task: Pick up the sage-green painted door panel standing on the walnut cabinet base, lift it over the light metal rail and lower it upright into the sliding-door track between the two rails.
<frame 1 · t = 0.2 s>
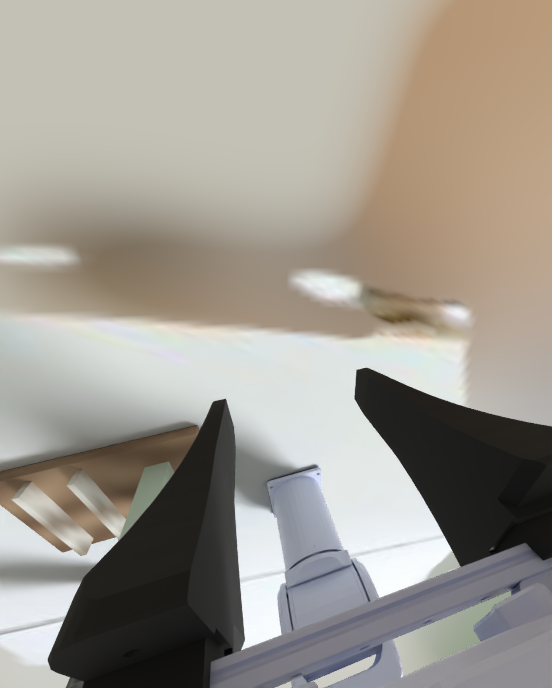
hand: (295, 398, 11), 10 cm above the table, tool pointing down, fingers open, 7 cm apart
door panel: (169, 485, 25), point 1 cm above the table, touching track base
track base: (128, 487, 25), on the table
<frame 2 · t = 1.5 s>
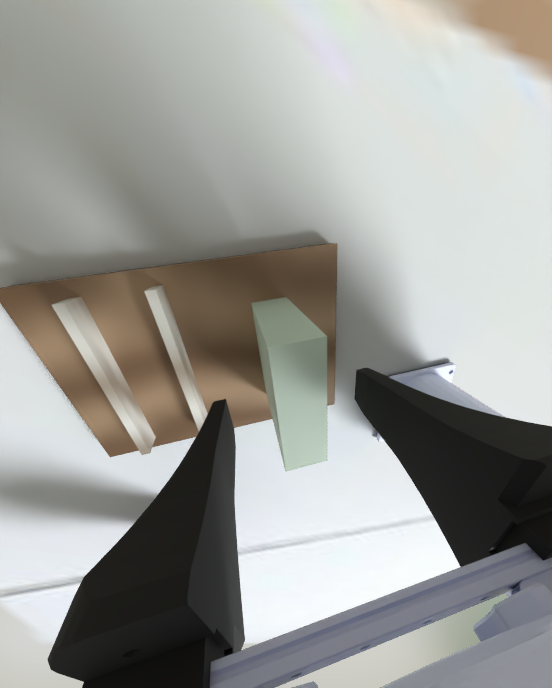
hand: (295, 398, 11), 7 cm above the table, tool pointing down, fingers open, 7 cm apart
door panel: (275, 350, 17), point 1 cm above the table, touching track base
track base: (211, 355, 17), on the table
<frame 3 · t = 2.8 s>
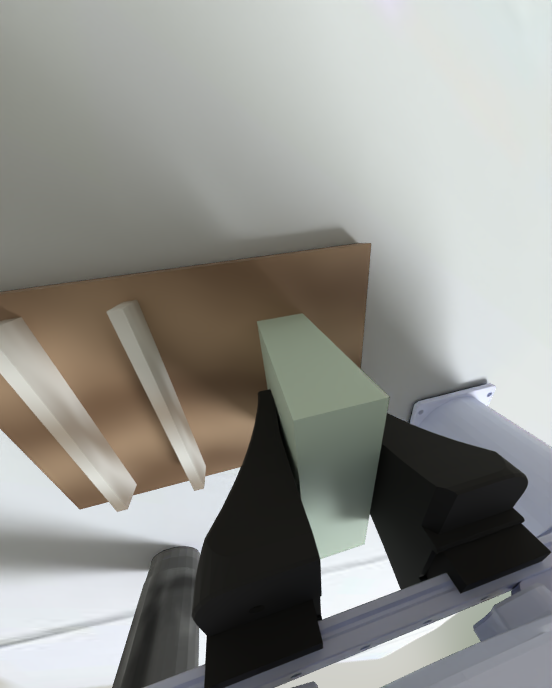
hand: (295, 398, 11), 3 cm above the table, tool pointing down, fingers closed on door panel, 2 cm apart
door panel: (286, 378, 13), point 1 cm above the table, touching gripper, track base
beverage cup: (176, 556, 22), on the table
track base: (205, 384, 14), on the table
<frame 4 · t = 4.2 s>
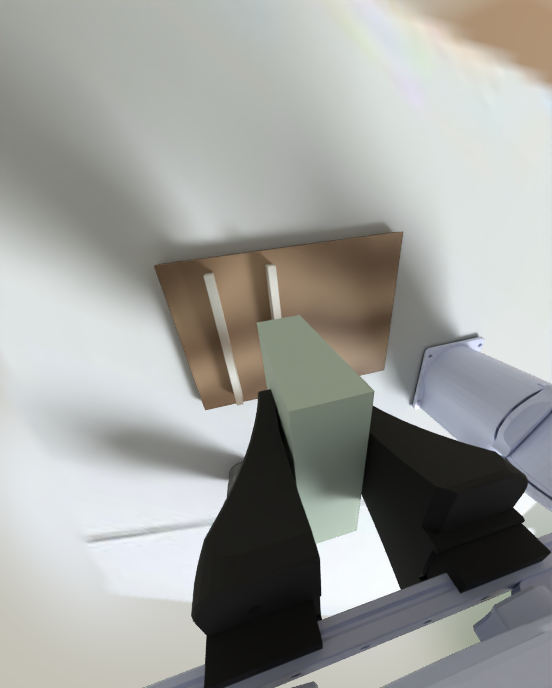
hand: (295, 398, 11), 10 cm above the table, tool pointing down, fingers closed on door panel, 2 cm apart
door panel: (284, 376, 14), point 8 cm above the table, touching gripper
track base: (291, 325, 21), on the table
when the fingers open (4 cm above the table, at t = 5.7 s): door panel stays where it is, resting on track base.
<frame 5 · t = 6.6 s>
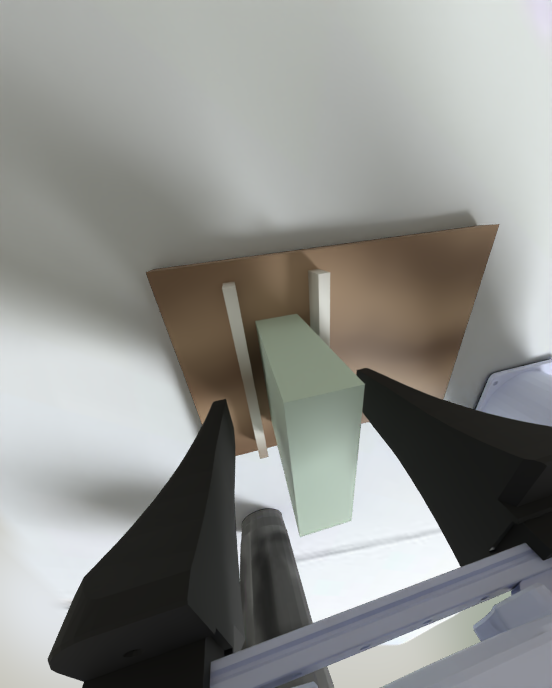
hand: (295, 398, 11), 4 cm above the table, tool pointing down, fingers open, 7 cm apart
door panel: (282, 373, 14), point 1 cm above the table, touching track base
beverage cup: (262, 518, 24), on the table
track base: (331, 349, 16), on the table
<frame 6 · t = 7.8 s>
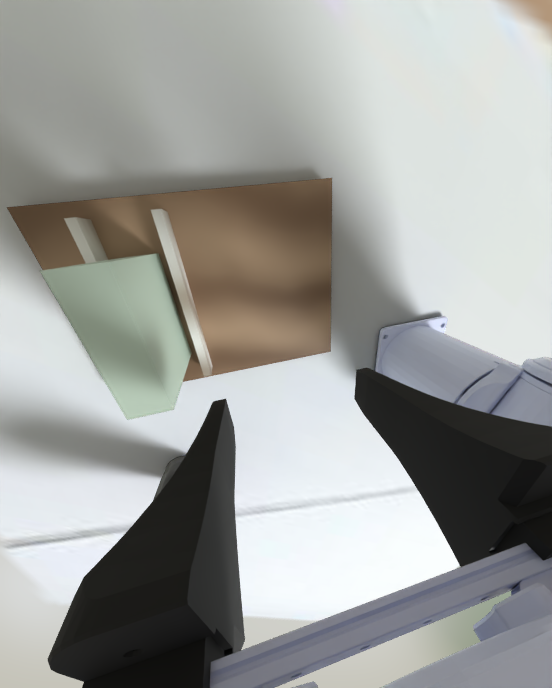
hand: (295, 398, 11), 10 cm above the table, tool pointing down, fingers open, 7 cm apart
door panel: (160, 311, 16), point 1 cm above the table, touching track base
beverage cup: (186, 467, 26), on the table
track base: (212, 295, 18), on the table
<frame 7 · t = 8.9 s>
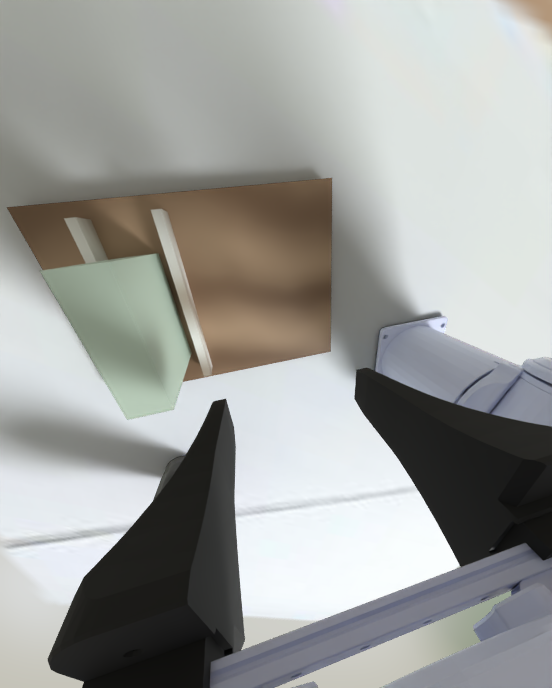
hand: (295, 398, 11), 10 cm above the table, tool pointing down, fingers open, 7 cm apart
door panel: (160, 311, 16), point 1 cm above the table, touching track base
beverage cup: (186, 467, 26), on the table
track base: (212, 295, 18), on the table
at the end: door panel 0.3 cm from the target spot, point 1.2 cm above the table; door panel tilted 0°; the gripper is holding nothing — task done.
